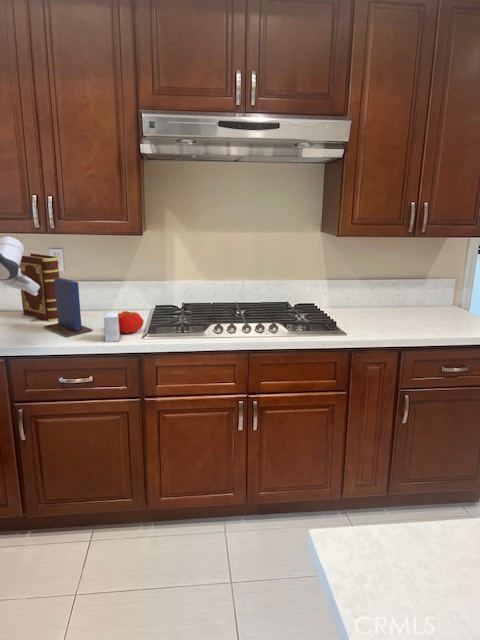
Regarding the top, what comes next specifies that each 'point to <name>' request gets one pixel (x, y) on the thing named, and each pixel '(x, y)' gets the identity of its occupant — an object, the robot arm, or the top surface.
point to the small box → (111, 327)
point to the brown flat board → (66, 330)
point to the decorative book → (43, 274)
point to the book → (68, 303)
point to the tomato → (129, 322)
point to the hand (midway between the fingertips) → (35, 294)
